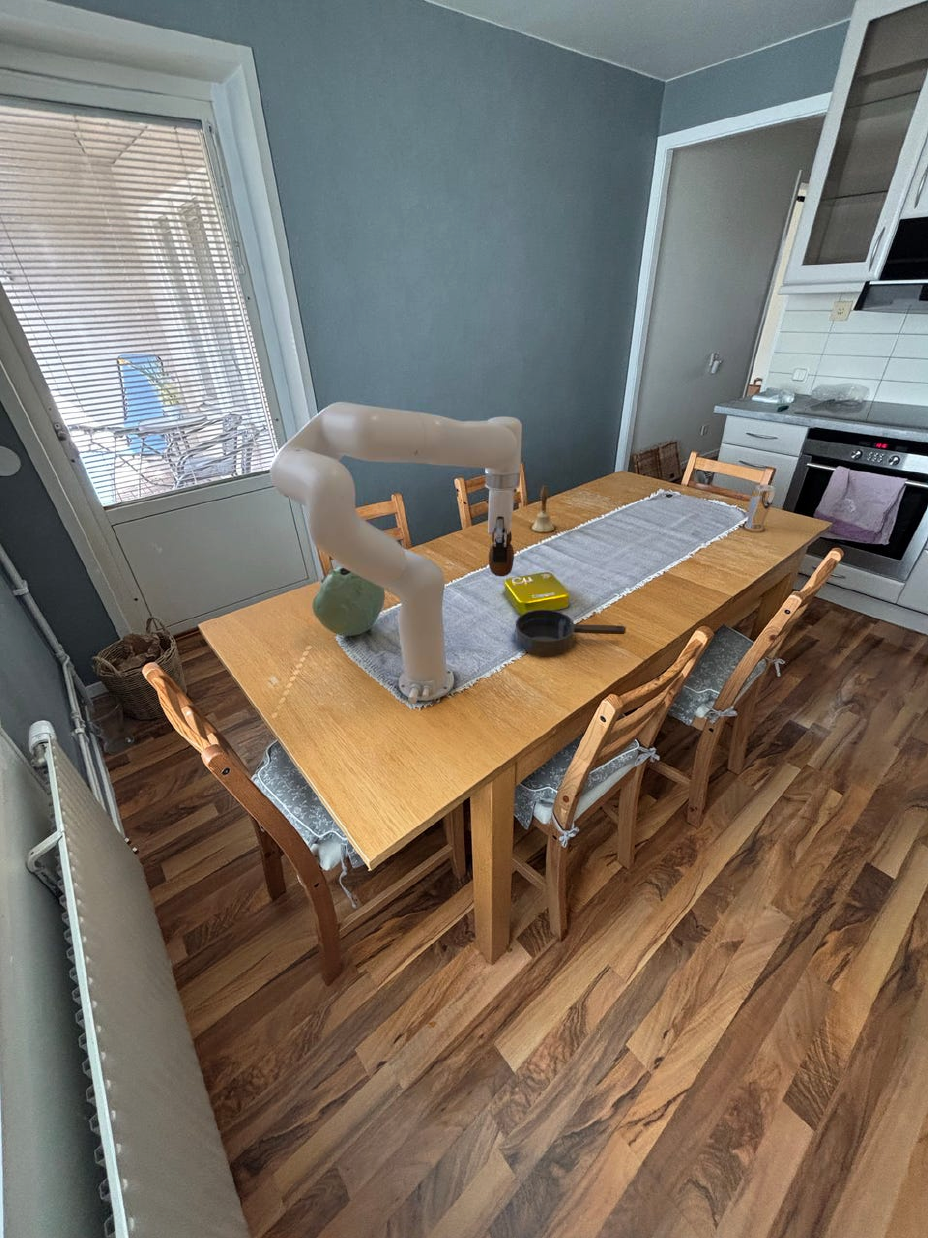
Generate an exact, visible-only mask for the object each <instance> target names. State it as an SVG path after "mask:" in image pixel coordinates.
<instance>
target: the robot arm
mask: <svg viewBox="0 0 928 1238" xmlns="http://www.w3.org/2000/svg"><path fill="white" fill-rule="evenodd" d="M522 427H523V425H522V422H521V421H520V419H518V418H517V417H514V416H495V417H491V418H489V419H487V420H465V421H463V420H458V419H455V418H454V419H453V418H450V417H446V416H442V415H438V414H433V413H428V412H421V411H413V410H403V409H396V408H388V407H382V406H381V407H380V406H372V405H366V404H360V403H353V402H348V401H347V402H346V401H337V402H333V403H331V404H329V405H328V406H326V407H325V408H323V409H322V410H320V411H319V412H318V413H317V414H316V415H315V416H313V417H312V418H311V419H310V420H309V421H307V423H306V424H305V425H304V426H303V427H302V428H300V430H298V431H297V432H296V434H294V436H292V437H291V438H290V439H289V440H288V441H287V442H286V443H285V444H284V445H282V446H281V447H280V449H279V450H278V451H277V452H276V453H275V455H274V457H273V458H272V460H271V463H270V468H269V476H270V480H271V481H270V482H271V483H272V486H273V488H275V490H276V491H277V492H278V493H279V494H280V495H281V496H283V497H285V498H286V499H288V500H290V501H293V502H294V503H297V504H300V505H302V506H304V507H305V508H306V511H307V512H306V513H307V526H308V532H309V535H310V538H311V541H312V542H313V544H314V545H315V547H316V548H317V549H318V550H319V551H321V553H324V554H325V555H327V556H328V557H330V558H332V560H334V561H335V563H336V564H337V565H339V566H341V567H343V568H345V569H347V570H349V571H350V572H352V573H354V574H356V575H358V576H360V577H362V578H364V579H366V580H368V581H370V582H372V583H373V584H375V585H377V586H379V587H381V588H383V589H384V591H387V592H388V593H390V594H392V595H394V596H395V597H397V598H398V599H399V600H400V602H401V606H400V608H399V610H398V613H397V628H398V634H399V635H398V636H399V642H400V650H401V658H402V665H403V672H402V673H401V674H400V676H399V678H398V687H399V690H400V692H401V693H402V694H403V695H404V696H405V697H407V702H408V703H409V704H412V705H414V704H416V703H417V701H421V702H427V701H433V700H437V699H440V698H442V697H444V696H446V695H447V694H448V693H450V691H451V690H452V689H453V687H454V683H455V676H454V673H453V671H452V670H451V669H450V668H449V667H448V666H447V657H446V644H445V631H444V619H443V600H444V592H445V587H446V578H445V574H444V571H443V570H442V568H441V567H440V566H439V565H438V564H437V563H436V562H435V561H432V560H431V559H430V558H427V557H426V556H424V555H421V554H419V553H416V552H414V551H411V550H408V549H407V548H404V547H402V545H401V544H400V542H399V541H397V539H396V538H394V537H393V536H392V535H390V534H389V533H387V532H386V531H383V530H381V529H379V528H377V527H376V526H374V524H373V525H372V524H371V523H369V522H368V521H367V520H365V519H364V518H363V517H362V516H361V515H359V514H358V513H357V510H356V487H355V483H354V479H353V476H352V474H351V473H350V471H349V469H348V468H347V467H346V466H345V465H344V464H342V462H340V460H341V459H342V458H343V457H344V456H345V457H349V458H353V459H356V460H360V461H364V462H372V463H398V464H399V463H402V464H403V463H404V464H421V465H423V464H424V465H432V466H443V467H444V466H445V467H446V466H448V467H449V466H450V467H463V468H464V467H465V468H473V469H484V487H485V488H486V489H488V490H489V491H488V512H487V513H488V514H487V515H488V517H487V533H488V534H489V535H492V533H493V532H494V543H493V544H494V545H493V544H492V545H493V562H504V563H506V562H507V545H506V540H507V534H509V533H510V531H511V527H512V522H513V515H514V507H515V506H514V505H515V490H517V489H518V488H520V487H521V460H522V431H523V428H522ZM503 518H504V523H503ZM496 529H497V532H496ZM503 530H505V532H502V531H503ZM502 535H504V539H503V538H502Z"/></svg>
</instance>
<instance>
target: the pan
mask: <svg viewBox="0 0 928 1238" xmlns="http://www.w3.org/2000/svg"><path fill="white" fill-rule="evenodd" d="M574 624H575V622H574V620H573V619H572V618H571V617H570V616H568V615H567V614H565V613H563V612H561V611H558V610H542V609H540V610H533V611H529V612H526V613H524V614H522V615H521V614H520V615H519V617H517V619H516V621H515V626H514V627H515V629H514V630H515V631H514V633H515V635H514V641H515V643H516V644H517V646H518V647H519V648H520V649H522V650H523V651H525V652H526V653H530V654H532V655H536V656H544V657H550V656H557V655H560V654H564V653H565V652H567V651H569V650H570V649H571V648H572V646H573V645H574V641H575V640H574V639H575V633H574V632H575V625H574Z"/></svg>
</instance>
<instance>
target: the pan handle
mask: <svg viewBox="0 0 928 1238" xmlns="http://www.w3.org/2000/svg"><path fill="white" fill-rule="evenodd" d="M574 625H575V632H574V634H593V635H625V634H626V632H627V627H626V626H624V625H613V624H612V625H611V624H610V625H609V624H607V625H606V624H581V623H580V624H577V623H576V624H575V623H574Z"/></svg>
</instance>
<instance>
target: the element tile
mask: <svg viewBox="0 0 928 1238" xmlns="http://www.w3.org/2000/svg"><path fill="white" fill-rule="evenodd" d="M504 595H505V596H506V598H507V599H508V601H509V602H510V603H511V605H512V606H513V608H514V609H515V611H516V612H517V613H518V614H519V615H520V616H521V615H522V614H524V613H526V612H529V611H533V610H540V609H542V610H553V611H559V610H564V609H567V608H568V607H569V605H570V591H569V590H568V589H567V588H566V587H565V586H564V585H563V584H562V582H561V581H559V579H558V578H557V577H556V576H555V575H554V574H553V573H551V572H549V571H544V572H538V573H532V574H526V575H521V576H520V575H519V576H514V577H508V578H506V579H505V580H504Z"/></svg>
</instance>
